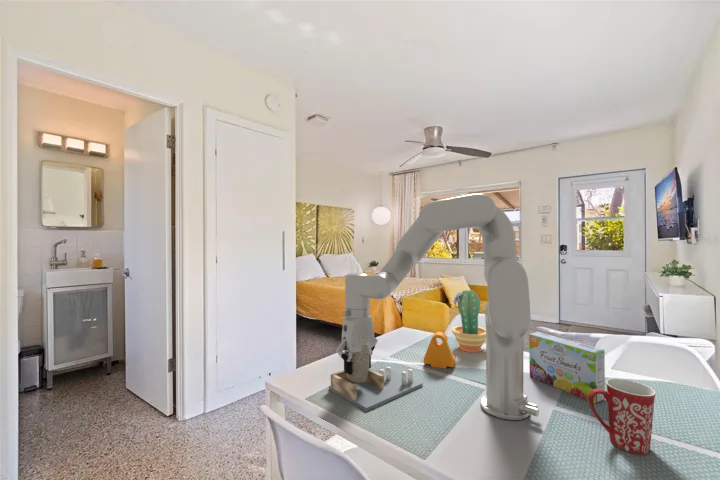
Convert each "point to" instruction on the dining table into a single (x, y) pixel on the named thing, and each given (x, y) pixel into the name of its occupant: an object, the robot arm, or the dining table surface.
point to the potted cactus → (469, 322)
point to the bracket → (439, 352)
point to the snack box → (567, 365)
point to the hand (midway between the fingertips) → (357, 369)
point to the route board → (392, 389)
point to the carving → (360, 365)
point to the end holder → (349, 389)
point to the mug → (627, 414)
